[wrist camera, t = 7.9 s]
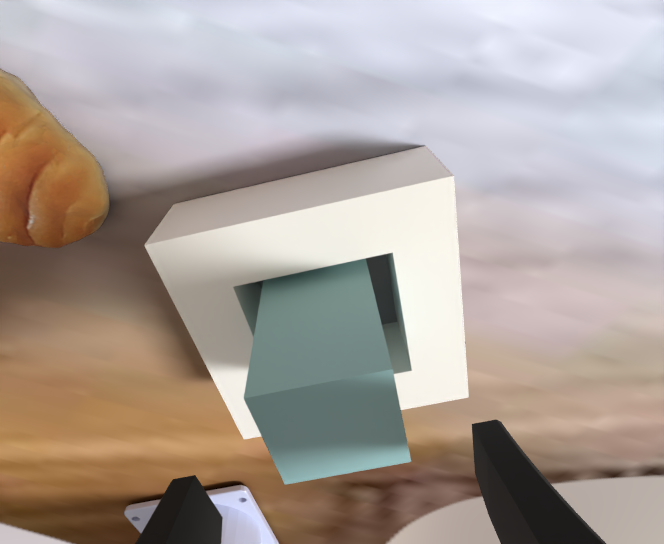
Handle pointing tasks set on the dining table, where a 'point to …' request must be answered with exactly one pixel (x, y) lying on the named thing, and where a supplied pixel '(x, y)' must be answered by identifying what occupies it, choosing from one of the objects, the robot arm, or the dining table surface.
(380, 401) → the post
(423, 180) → the well
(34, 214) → the pastry
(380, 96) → the dining table surface
